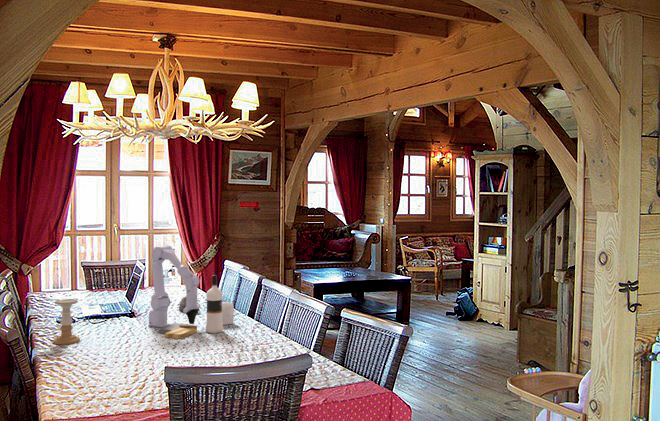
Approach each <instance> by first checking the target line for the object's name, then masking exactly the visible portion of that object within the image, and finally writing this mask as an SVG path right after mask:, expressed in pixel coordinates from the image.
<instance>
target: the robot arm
mask: <svg viewBox="0 0 660 421" xmlns="http://www.w3.org/2000/svg"><path fill="white" fill-rule="evenodd" d="M151 256H152V257H151V268H152V281H153V289H154V290H153V291H154V292H153V293H152V295H151V297H150V299H151V300H150V307H151V309H150V310H149V311H148V324H147V327H155V328H156V327H157V328H163V327H166V326H168V325H171V323H169V322H168V309H169V307H170V306H171V300H170V297H169V293H167V291H166V290H165V281H164V280H165V278H164V270H163V263H164V261H166V260H167V261H169V262H170V263H171V264H172V265H173V266H174V267H175V268H176V269H177V274H178V275H179V276H180V278H181V279H182V280H183V284H184V286H185V290H186V291H185V292H186V294H185V295H186V296H185V297H186V307H185V308H184V309H183V314H184V313H185V315H186V316H187V320H188V323H189V324H188V325H194V324H195V322H196V316H197V314H198V313H199V311H198V310H196V309H198V308H199V309H201V304H199V303H198V286H199V285H200V281H201V279H200V277H199V276H198V275H196V274H194V273H193V272H192V271H191V270H190V269H189V266H187V265H186V264H185V265H183V263H182V262H181V261H180V259H179V258H178V256H177V255H176V254H175V250H174V248H173V247H172V246H171V245H169V244H168V245H161V246H155V247H154V248H153V249H152V250H151Z"/></svg>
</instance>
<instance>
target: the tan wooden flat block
mask: <svg viewBox="0 0 660 421" xmlns="http://www.w3.org/2000/svg"><path fill="white" fill-rule="evenodd" d="M197 332H198V325H194V324H188V325H180V327H179V328H177V329H174V330H172V331H169V332H167V333H164V338H169V339H170V338H172V339H183V338H186V337H189V336H191V335H192V334H195V333H197Z"/></svg>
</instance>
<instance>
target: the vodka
mask: <svg viewBox="0 0 660 421" xmlns="http://www.w3.org/2000/svg"><path fill="white" fill-rule="evenodd" d="M211 277H212V278H211V288H209V289H208V290H207V291H206V293H205V294H206V323H205V332H206V333H208V334H220V333H222V332H223V331H224V325H223V323H222V303H223V290H222V289H220V288H219V287H218V275H216V274H214V275H213V274H212V275H211Z"/></svg>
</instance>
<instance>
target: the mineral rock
mask: <svg viewBox="0 0 660 421" xmlns="http://www.w3.org/2000/svg"><path fill="white" fill-rule="evenodd" d="M185 307H186V296H184V297H182V298H181V300H180V303H179V306H178V311H179V312H183V309H184V308H185ZM200 309H201V308H198V309H196V310H198V312H200Z"/></svg>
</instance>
